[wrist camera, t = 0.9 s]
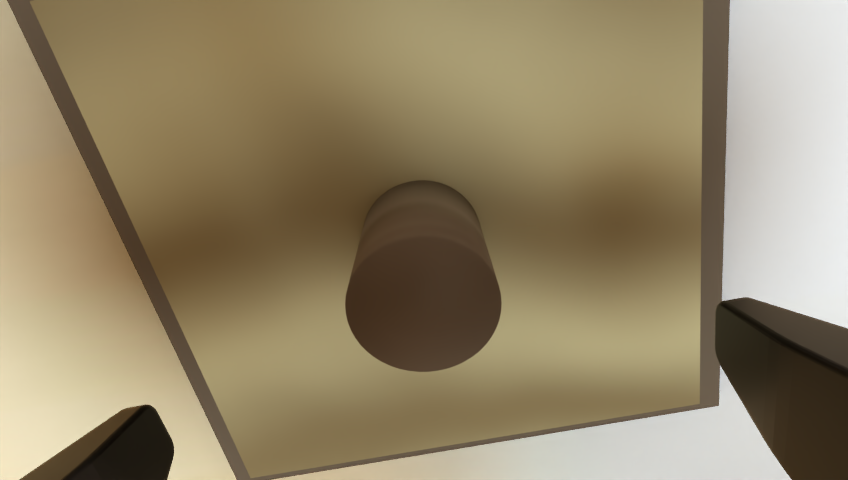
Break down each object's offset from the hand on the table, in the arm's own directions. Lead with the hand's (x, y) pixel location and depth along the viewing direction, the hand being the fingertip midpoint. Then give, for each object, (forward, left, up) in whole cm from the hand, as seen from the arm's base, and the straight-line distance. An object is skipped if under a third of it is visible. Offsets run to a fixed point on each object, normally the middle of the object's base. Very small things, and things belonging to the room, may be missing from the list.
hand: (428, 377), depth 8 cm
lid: (0, 0, -6) cm, 6 cm away
